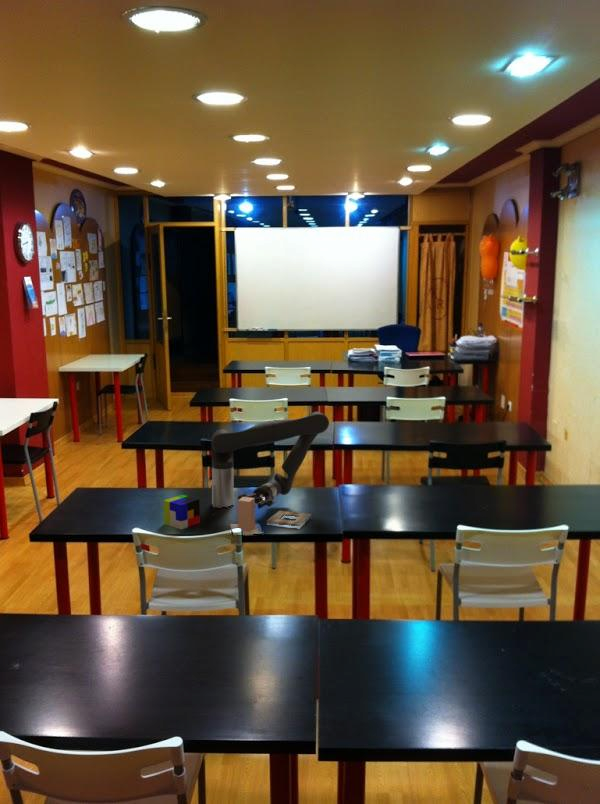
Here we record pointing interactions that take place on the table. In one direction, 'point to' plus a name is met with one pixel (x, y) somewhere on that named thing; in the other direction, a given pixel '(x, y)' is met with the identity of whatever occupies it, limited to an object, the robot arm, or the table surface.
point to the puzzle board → (277, 520)
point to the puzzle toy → (181, 511)
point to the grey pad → (253, 531)
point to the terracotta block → (246, 513)
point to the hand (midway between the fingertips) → (248, 504)
